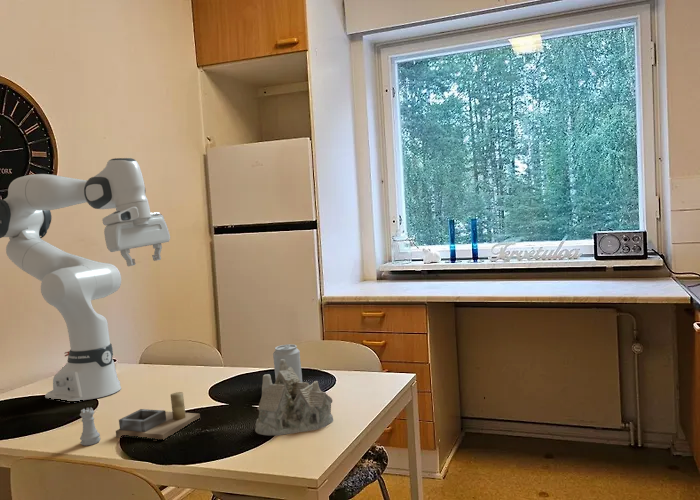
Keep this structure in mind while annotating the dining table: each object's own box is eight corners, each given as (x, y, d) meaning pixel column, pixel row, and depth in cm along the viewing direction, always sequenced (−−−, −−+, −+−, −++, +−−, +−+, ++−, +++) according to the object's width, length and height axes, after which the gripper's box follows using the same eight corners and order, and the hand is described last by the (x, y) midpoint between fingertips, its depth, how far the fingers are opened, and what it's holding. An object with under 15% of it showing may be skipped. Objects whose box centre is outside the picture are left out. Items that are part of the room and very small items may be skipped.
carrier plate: (116, 437, 148) (112, 406, 147) (155, 416, 161) (152, 388, 160) (163, 441, 143) (160, 409, 142) (200, 419, 155) (197, 390, 155)
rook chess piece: (84, 440, 148) (80, 407, 147) (103, 437, 148) (99, 405, 148) (77, 447, 143) (73, 413, 143) (97, 445, 144) (93, 411, 143)
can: (271, 391, 174) (267, 349, 173) (284, 383, 181) (280, 343, 180) (295, 392, 171) (291, 349, 170) (307, 384, 178) (303, 343, 177)
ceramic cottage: (245, 430, 145) (243, 367, 144) (295, 410, 157) (294, 352, 156) (292, 446, 135) (291, 379, 134) (341, 424, 147) (341, 362, 146)
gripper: (154, 213, 184) (164, 258, 185) (96, 220, 166) (108, 270, 167) (169, 209, 181) (179, 255, 182) (112, 216, 163) (123, 267, 164)
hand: (144, 263), depth 174 cm, fingers open, 8 cm apart
